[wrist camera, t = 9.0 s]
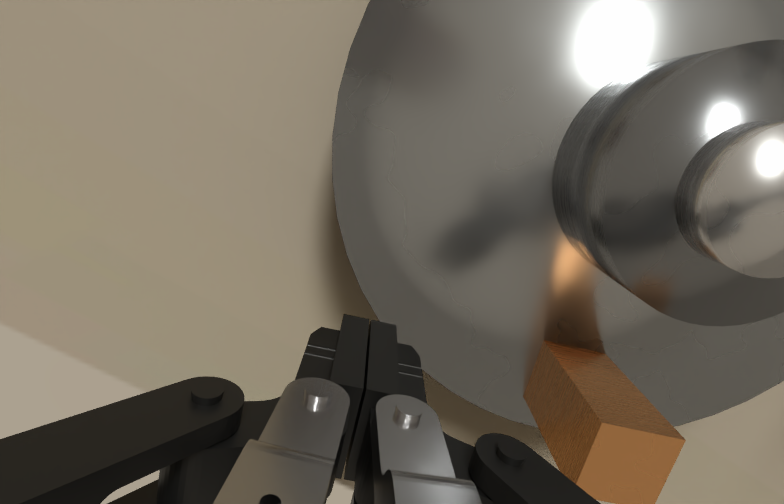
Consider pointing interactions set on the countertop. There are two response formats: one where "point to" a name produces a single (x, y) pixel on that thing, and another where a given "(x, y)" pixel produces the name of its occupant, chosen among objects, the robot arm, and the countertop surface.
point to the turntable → (529, 224)
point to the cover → (683, 184)
